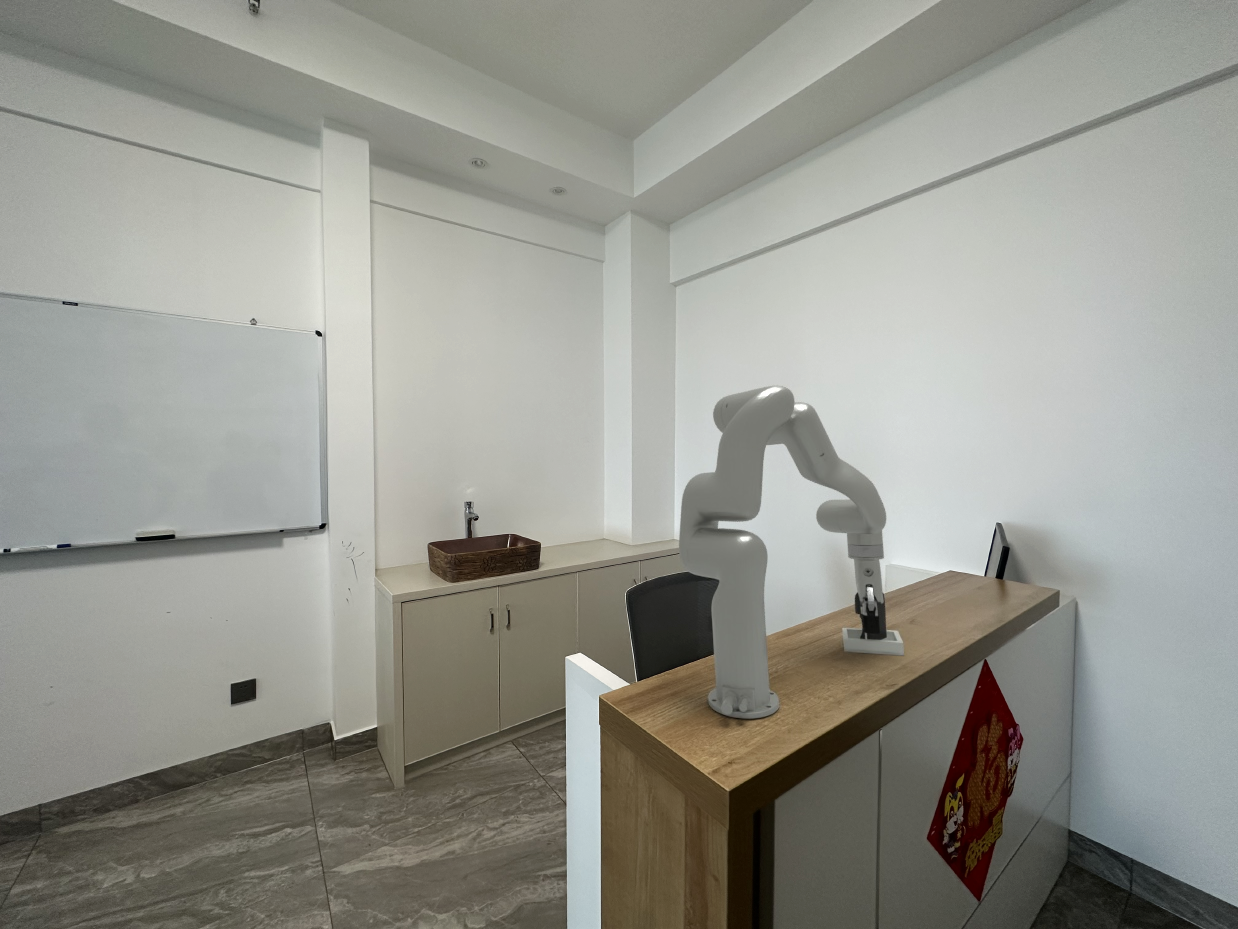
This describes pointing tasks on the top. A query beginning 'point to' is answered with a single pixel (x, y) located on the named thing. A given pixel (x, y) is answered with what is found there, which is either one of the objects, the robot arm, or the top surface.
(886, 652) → the tray
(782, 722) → the top surface
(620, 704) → the top surface
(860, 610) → the battery charger
